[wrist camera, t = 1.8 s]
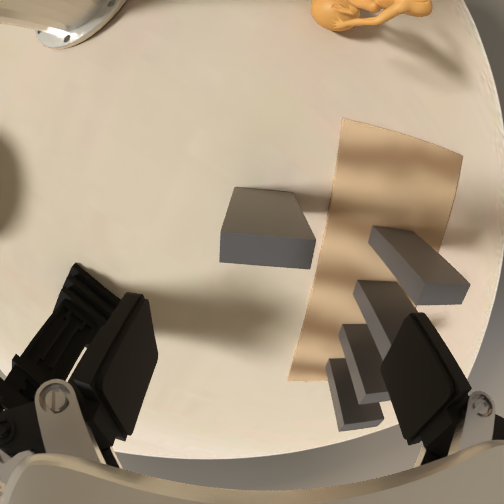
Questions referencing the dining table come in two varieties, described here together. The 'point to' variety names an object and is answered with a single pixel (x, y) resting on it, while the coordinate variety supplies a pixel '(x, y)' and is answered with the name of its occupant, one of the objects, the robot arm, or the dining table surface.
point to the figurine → (348, 13)
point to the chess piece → (59, 338)
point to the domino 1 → (266, 230)
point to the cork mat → (360, 224)
